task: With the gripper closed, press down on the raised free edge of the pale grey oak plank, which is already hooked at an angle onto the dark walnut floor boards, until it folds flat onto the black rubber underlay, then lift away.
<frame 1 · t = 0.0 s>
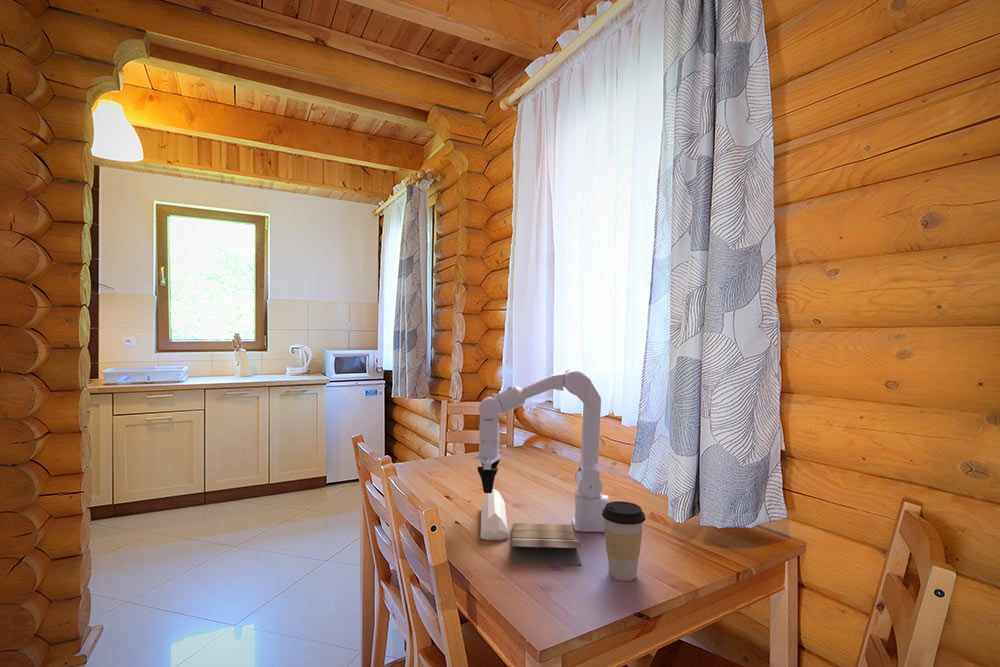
hand: (488, 488, 131), 10 cm above the table, tool pointing down, fingers open, 7 cm apart
walnut boards: (542, 536, 122), resting on underlay mat
underlay mat: (543, 544, 118), on the table
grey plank: (544, 543, 113), point 3 cm above the table, hinge at 22.0°
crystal: (493, 525, 131), on the table
coffee cup: (623, 575, 103), on the table
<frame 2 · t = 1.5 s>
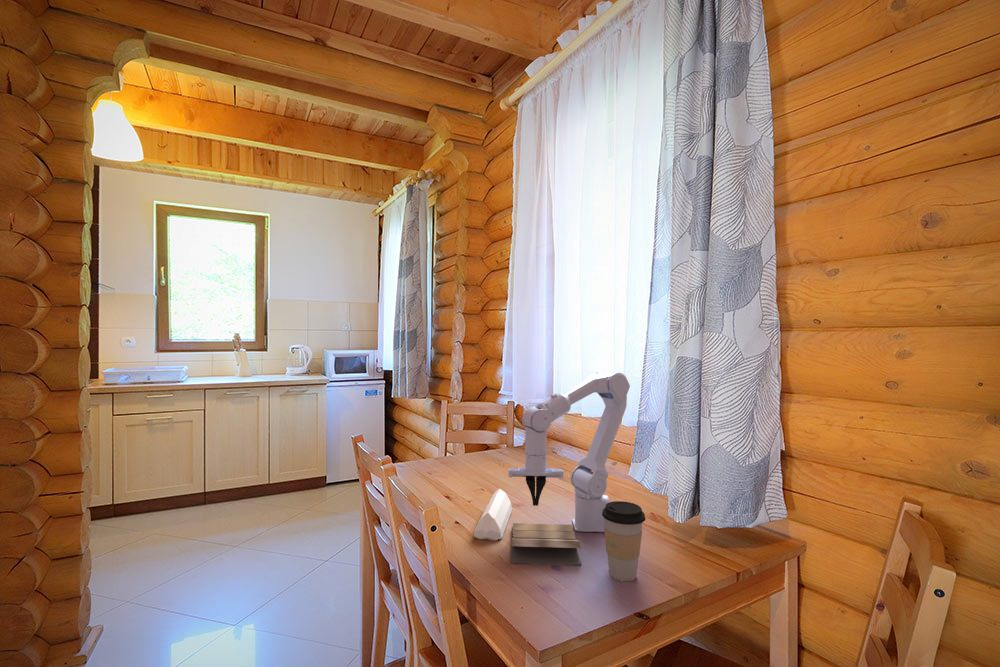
hand: (535, 504, 123), 8 cm above the table, tool pointing down, fingers closed
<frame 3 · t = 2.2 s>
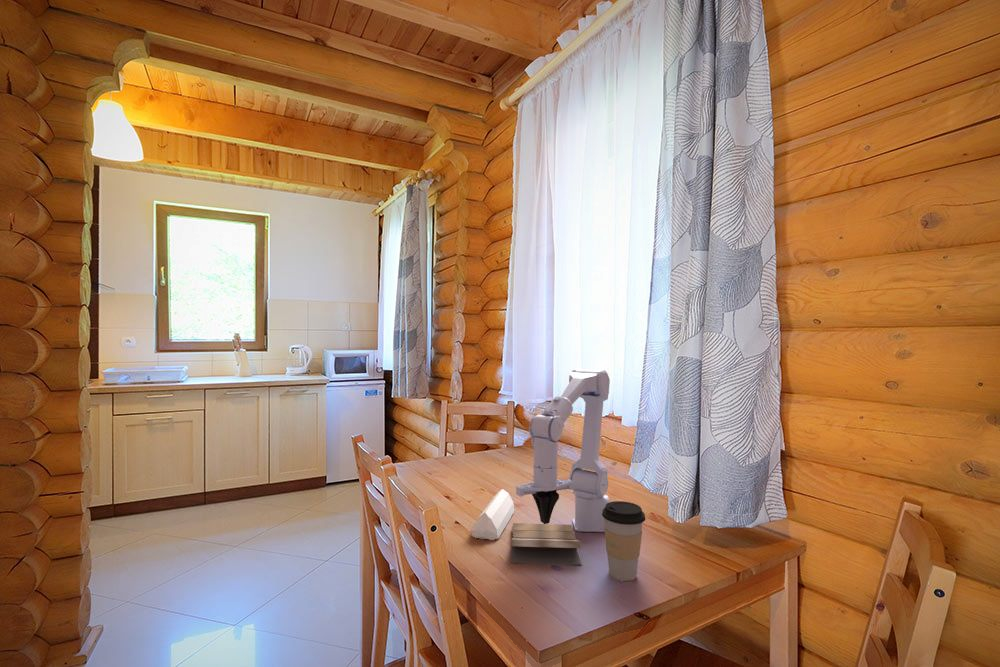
hand: (544, 522, 111), 8 cm above the table, tool pointing down, fingers closed
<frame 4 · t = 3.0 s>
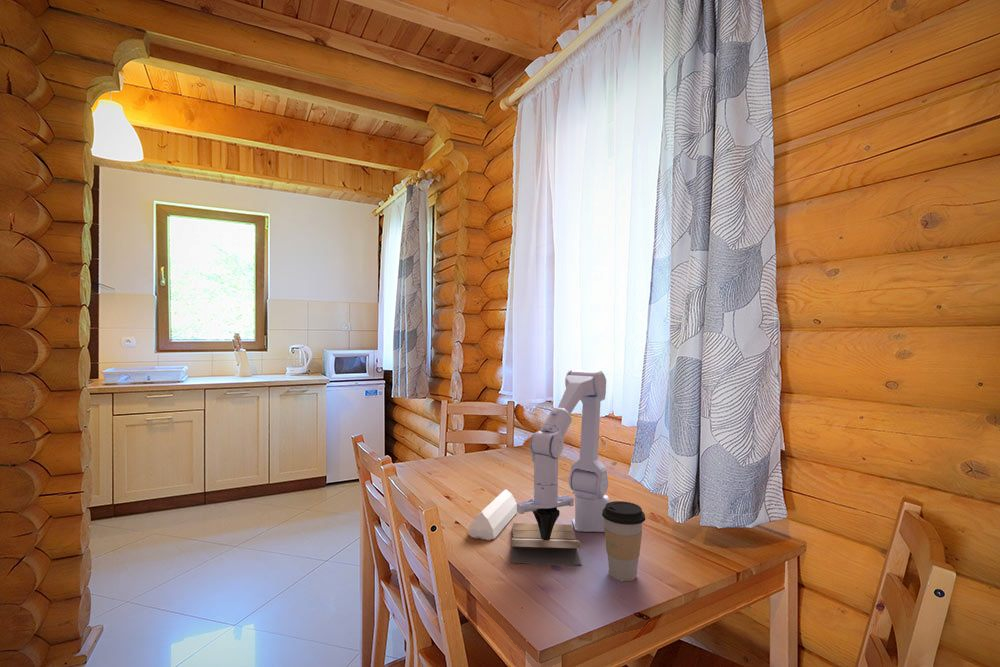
hand: (545, 539, 111), 5 cm above the table, tool pointing down, fingers closed, pressing on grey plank
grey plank: (544, 543, 113), point 3 cm above the table, hinge at 21.7°, touching gripper
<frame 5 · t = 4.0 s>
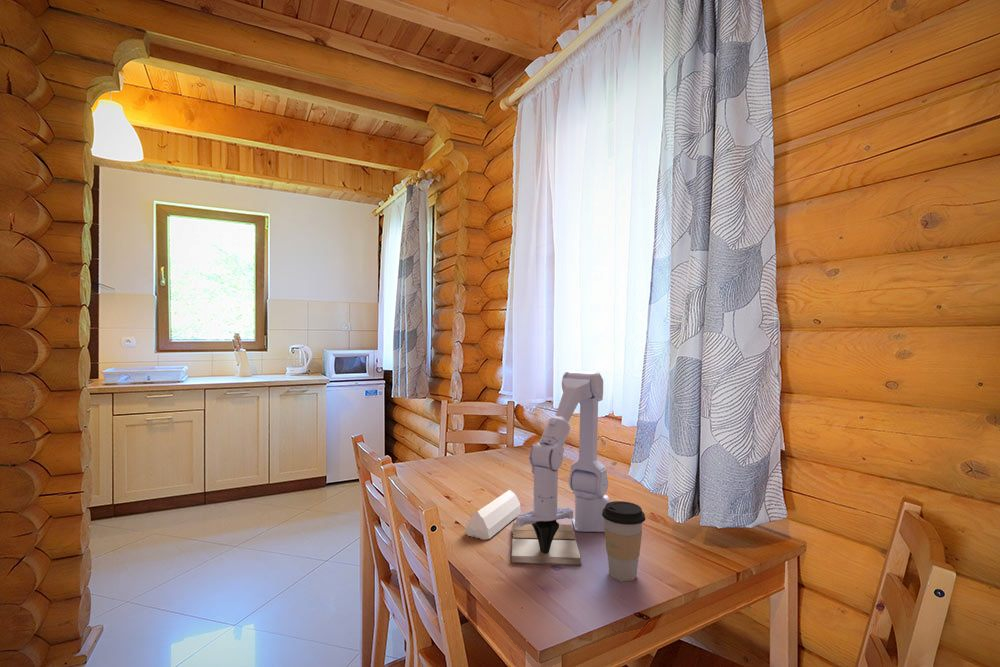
hand: (544, 551, 110), 2 cm above the table, tool pointing down, fingers closed, pressing on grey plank
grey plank: (545, 550, 112), point 1 cm above the table, hinge at -0.4°, touching gripper, underlay mat
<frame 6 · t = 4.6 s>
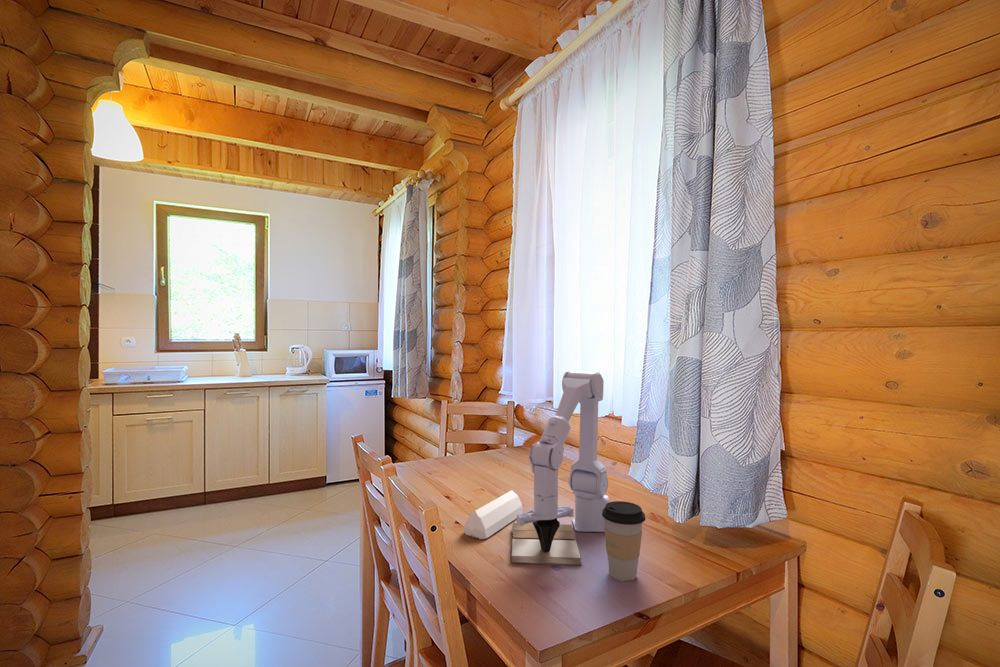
hand: (545, 550, 111), 2 cm above the table, tool pointing down, fingers closed
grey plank: (545, 550, 112), point 1 cm above the table, hinge at -0.3°, touching underlay mat
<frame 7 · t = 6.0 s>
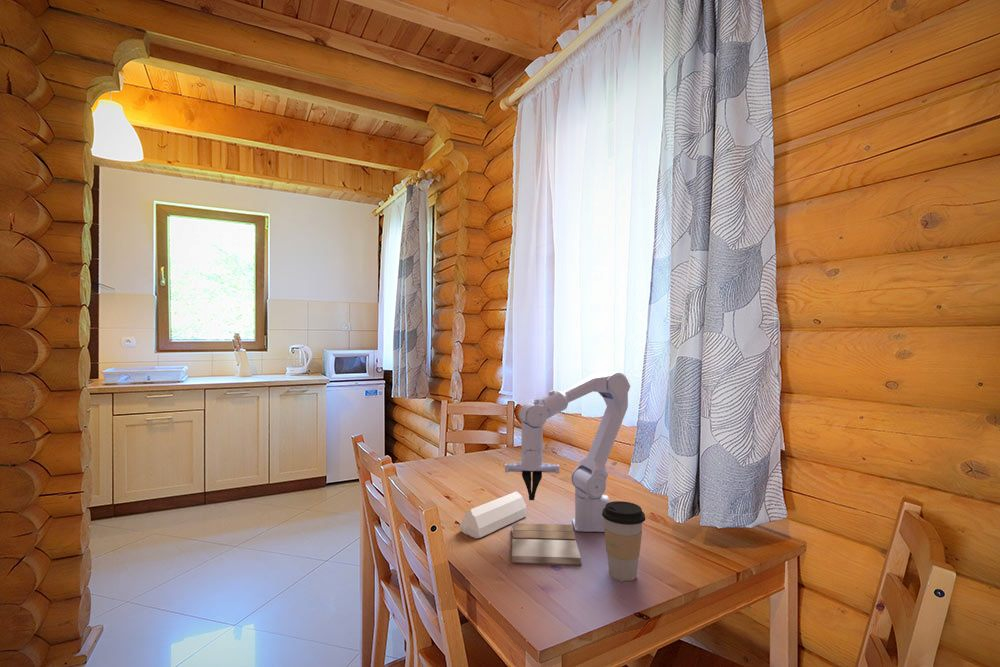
hand: (531, 499, 124), 9 cm above the table, tool pointing down, fingers closed
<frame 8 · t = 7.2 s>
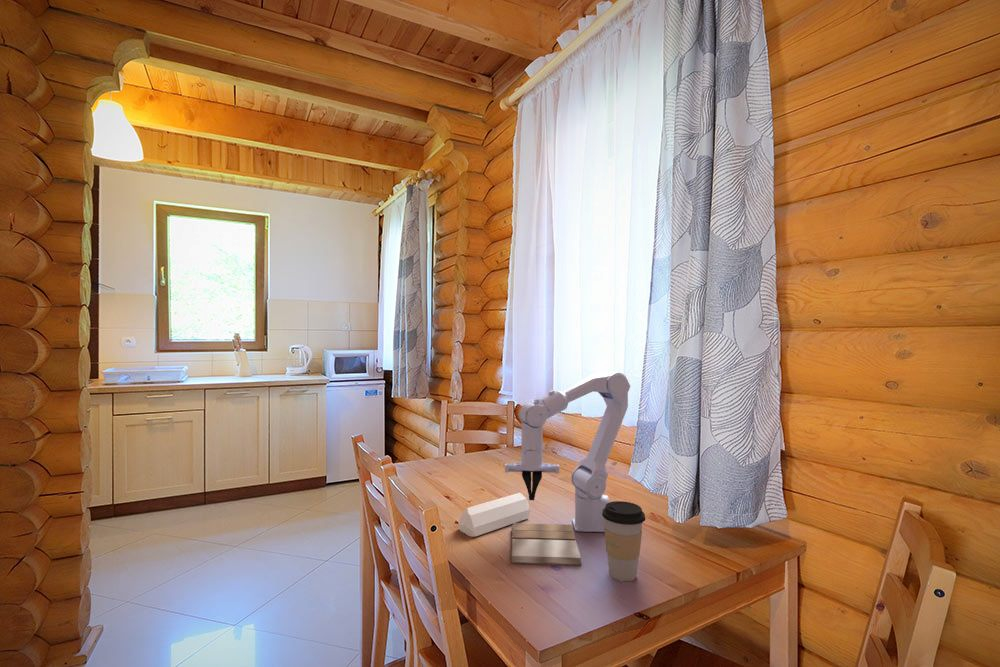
hand: (531, 499, 124), 9 cm above the table, tool pointing down, fingers closed
at the end: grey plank at +0° (first picture: +22°) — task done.
